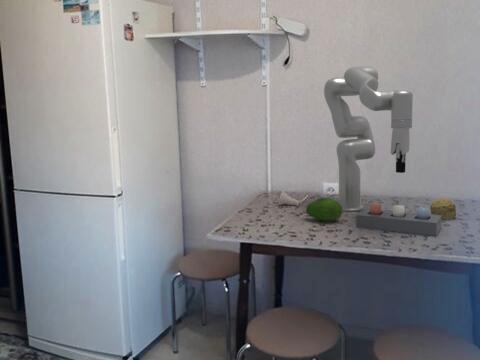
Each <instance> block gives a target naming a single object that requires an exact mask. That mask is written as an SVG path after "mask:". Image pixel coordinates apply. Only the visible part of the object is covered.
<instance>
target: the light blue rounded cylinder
mask: <svg viewBox="0 0 480 360" xmlns="http://www.w3.org/2000/svg"><path fill="white" fill-rule="evenodd" d="M416 213H417V218H416V219H425V220H429V214H430V207H426V206H425V207H424V206H420V207H416Z"/></svg>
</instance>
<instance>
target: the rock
mask: <svg viewBox="0 0 480 360" xmlns="http://www.w3.org/2000/svg"><path fill="white" fill-rule="evenodd" d="M429 210H430V214H433V215H442V221H443V220H445V221H448V220H451V221H452V220H455V219H456V216H457V209H456V204H455V203H454V202H453V201H452V200H451V199H450V198H449V199H448V198H445V197H440V198H436V199H434V200H433V201H432V202H431V204H430V207H429Z"/></svg>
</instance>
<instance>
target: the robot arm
mask: <svg viewBox="0 0 480 360" xmlns="http://www.w3.org/2000/svg"><path fill="white" fill-rule="evenodd" d="M378 80H379V73H378V71H377V69H376V68H374V67H373V66H370V65H369V66H352V67H350V68H348V69H347V70H345V72H344V74H343V76H341V77H339V76H338V77H332V78H330V79H328V80H327V81H326V82H325V84H324V86H323V87H324V88H323V89H324V90H323V94H324V96H323V97H324V98H325V102H326V104H327V106H328V108H329V111H330V113H331V120H332V123H333V127H334V132H335V134H336V136H337V137H338V138H340V139H341V138H342V139H345V140H342V141H340V142H338V144H337V146H336V156H337V160H338V161H337V162H338V198H333V197H331V198H332V199H334V200H336V201H337V202H338V203H339V204H340V205H341V207H342V210H343V211H342V212H351V213H352V212H361V211H362V210H363V209H365V206H364V205H363V204H361V168H360V166H359V165H358V163H357V161H362V160H363V161H364V160H369V159H372V158H373V157H374V156H375V154H376V143H375V140H374V136H373V132H372V127H371V125H370V122H369V121H368V118H366V117H365V116H361V115H352V114H351V109H350V106H349V104H348V102H346V101H345V100H344V99H343V98H342V97H356V96H358V98H359V101H360V102H361V104H362V105H363V106H364V107H366V108H367V109H368V110H370V111H374V112H382V111H383V112H384V111H385V112H386V111H390V118H391V119H390V129H392V132H391V139H390V144H391V145H390V154H391V155H392V156H394V155H395V172H396V173H397V174H398V173H400V174H401V173H402V174H404V173H405V172H406V159H407V158H406V157H407V154H408V153H409V151H410V129H413V102H414V101H413V99H414V98H413V95H414V94H413V92H412V91H410V90H400V91H399V90H378V89H379V88H378V87H379V81H378ZM377 90H378V91H377ZM350 138H351V139H350Z"/></svg>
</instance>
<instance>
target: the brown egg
mask: <svg viewBox="0 0 480 360" xmlns="http://www.w3.org/2000/svg"><path fill="white" fill-rule="evenodd" d="M369 209H370V214H374V215H381V210H382V204H381V203H378V202H374V203H373V202H371V203H369Z"/></svg>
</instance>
